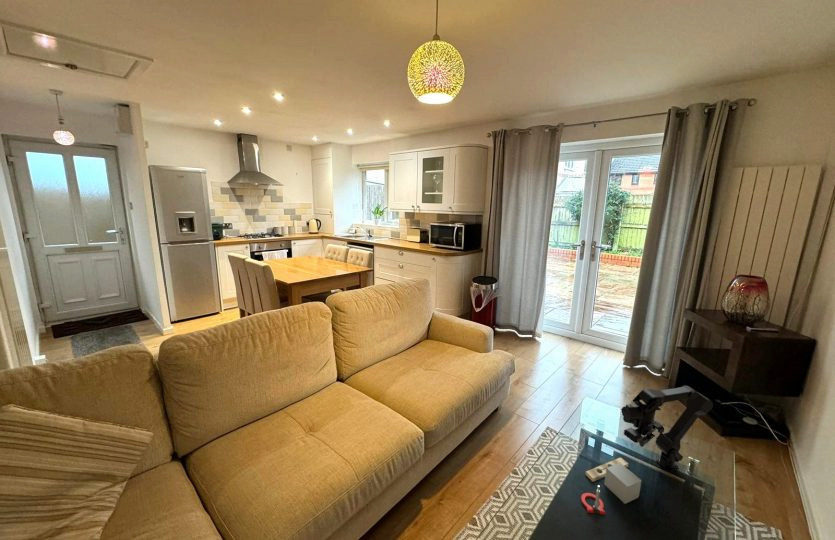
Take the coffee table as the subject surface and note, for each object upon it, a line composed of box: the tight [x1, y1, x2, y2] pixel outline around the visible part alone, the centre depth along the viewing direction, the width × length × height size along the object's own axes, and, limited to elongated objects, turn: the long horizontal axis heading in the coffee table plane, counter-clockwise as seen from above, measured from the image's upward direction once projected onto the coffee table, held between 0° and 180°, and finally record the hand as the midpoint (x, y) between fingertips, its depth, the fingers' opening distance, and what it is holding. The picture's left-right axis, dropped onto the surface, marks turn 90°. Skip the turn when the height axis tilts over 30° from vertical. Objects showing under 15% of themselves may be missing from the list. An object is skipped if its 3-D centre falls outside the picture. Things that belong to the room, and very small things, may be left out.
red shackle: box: [580, 485, 606, 515], centre depth 135 cm, size 8×13×9 cm
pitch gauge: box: [585, 457, 629, 482], centre depth 152 cm, size 22×4×2 cm, turn 110°
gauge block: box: [603, 463, 642, 505], centre depth 141 cm, size 8×10×9 cm
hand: (641, 446), depth 151 cm, fingers closed
